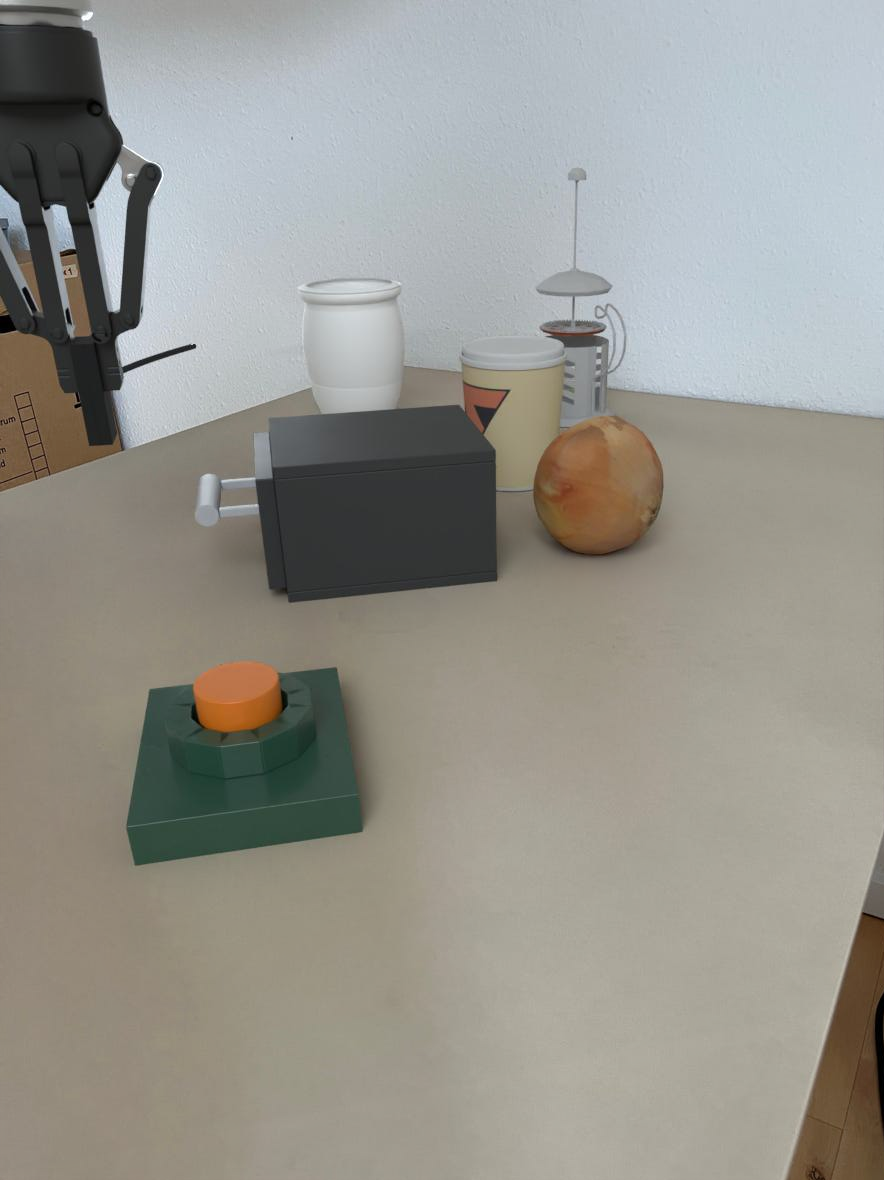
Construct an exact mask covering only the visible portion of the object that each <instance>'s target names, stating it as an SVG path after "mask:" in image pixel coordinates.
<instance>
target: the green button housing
mask: <svg viewBox="0 0 884 1180" xmlns="http://www.w3.org/2000/svg"><path fill="white" fill-rule="evenodd" d="M277 673H278V675H279V682H280V690H281V697H282V705H283V707H282V711H281V714H280V715H279V716H278V717H277V718H276V719H275V720H273V721H270V722H268V723H266V724H263V725H261V726H259V727H256V728H254V729H248V730H240V731H232V732H222V731H216V730H210V729H206V728H204V727H203V726H202V725H201V724H200V722H199V719H198V714H197V709H196V703H195V698H194V692H193V685H194V683H190V684H181V685H172V686H163V687H156V688H155V687H153V688H149V690H148V695H147V701H146V707H145V713H144V717H143V725H142V731H141V737H140V742H139V749H138V754H137V760H136V766H135V771H134V777H133V784H132V790H131V795H130V800H129V801H130V802H129V807H128V813H127V819H126V825H125V829H126V833H127V838H128V842H129V846H130V850H131V854H132V859H133V863H134V864H133V865H134V866H136V867H137V866H143V865H149V864H156V863H157V864H158V863H163V862H171V861H177V860H183V859H190V858H198V857H204V856H212V855H217V854H225V853H231V852H239V851H244V850H251V849H257V848H258V849H259V848H265V847H271V846H277V845H278V846H279V845H285V844H292V843H298V842H305V841H313V840H317V839H318V840H319V839H325V838H332V837H337V836H345V835H352V834H359V833H363V823H362V810H361V800H360V793H359V792H360V791H359V786H358V781H357V775H356V769H355V764H354V757H353V752H352V747H351V741H350V735H349V729H348V724H347V718H346V712H345V707H344V700H343V695H342V690H341V684H340V679H339V672H338V667H337V666H334V667H326V668H318V669H317V668H316V669H309V670H308V669H307V670H301V671H300V670H299V671H291V672H278V671H277Z"/></svg>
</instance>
